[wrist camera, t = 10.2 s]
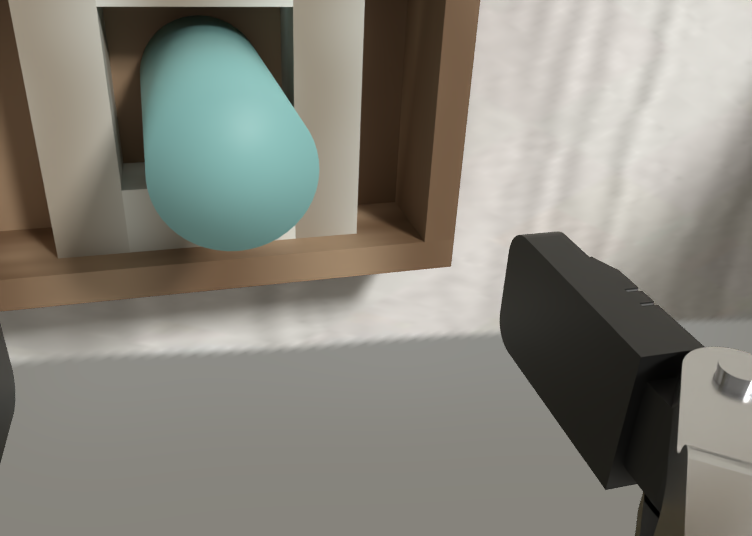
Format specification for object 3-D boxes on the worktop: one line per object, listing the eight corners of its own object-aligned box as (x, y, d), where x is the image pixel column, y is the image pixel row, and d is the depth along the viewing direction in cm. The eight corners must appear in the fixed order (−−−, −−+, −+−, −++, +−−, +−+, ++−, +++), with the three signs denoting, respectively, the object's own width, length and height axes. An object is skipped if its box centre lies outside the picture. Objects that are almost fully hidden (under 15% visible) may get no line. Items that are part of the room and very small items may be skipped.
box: (438, -115, 22) (492, -110, 18) (412, 216, 27) (450, 266, 24) (-129, -142, 18) (-192, -142, 14) (-28, 250, 23) (-57, 317, 20)
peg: (260, 15, 21) (321, 87, 15) (263, 132, 23) (317, 244, 16) (133, 14, 20) (136, 91, 14) (145, 136, 22) (153, 257, 15)
